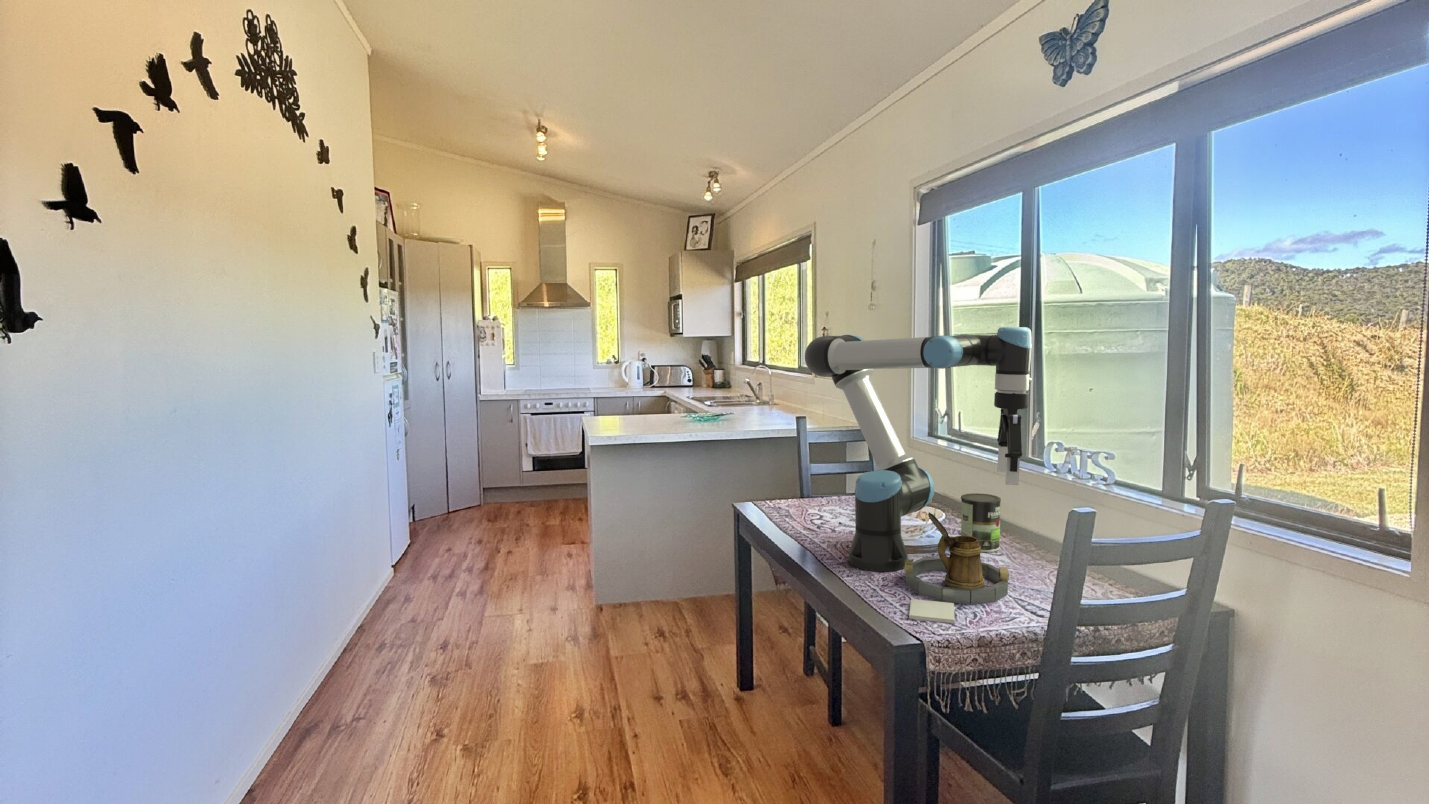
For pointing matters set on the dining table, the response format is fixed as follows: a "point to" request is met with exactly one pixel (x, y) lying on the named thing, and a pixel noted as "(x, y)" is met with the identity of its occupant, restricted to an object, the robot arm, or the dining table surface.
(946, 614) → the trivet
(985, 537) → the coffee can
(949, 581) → the wooden mug
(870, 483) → the robot arm
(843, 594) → the dining table surface
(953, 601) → the collar
